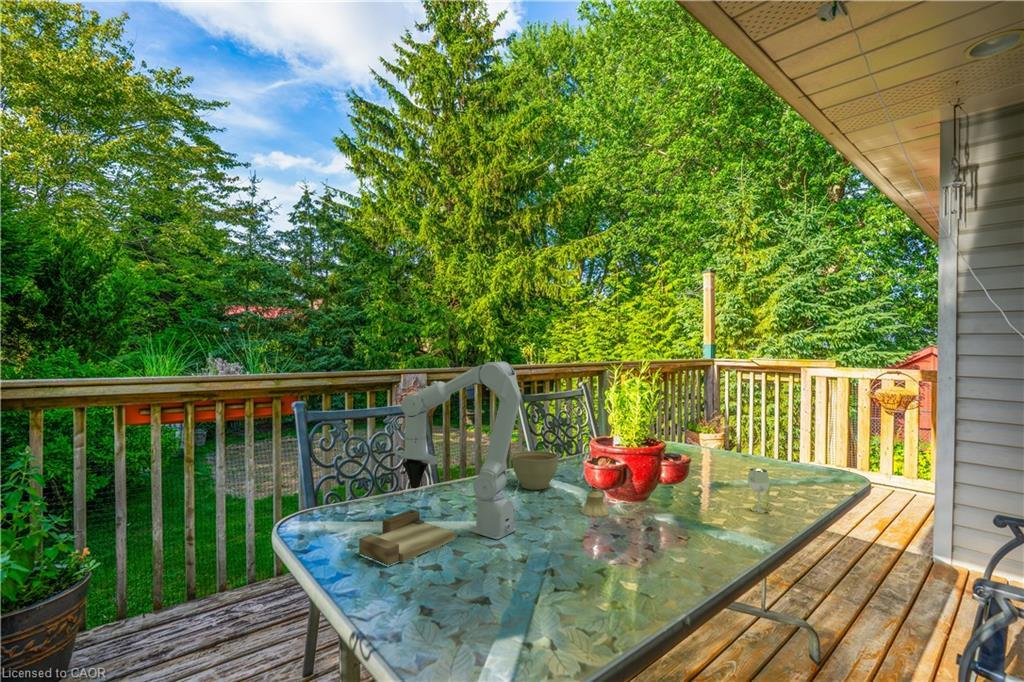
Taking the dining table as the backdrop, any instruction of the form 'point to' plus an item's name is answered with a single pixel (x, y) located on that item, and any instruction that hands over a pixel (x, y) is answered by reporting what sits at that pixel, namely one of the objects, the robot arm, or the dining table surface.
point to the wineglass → (758, 483)
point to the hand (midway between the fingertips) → (415, 487)
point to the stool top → (405, 542)
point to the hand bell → (594, 501)
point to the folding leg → (400, 520)
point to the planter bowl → (534, 468)
